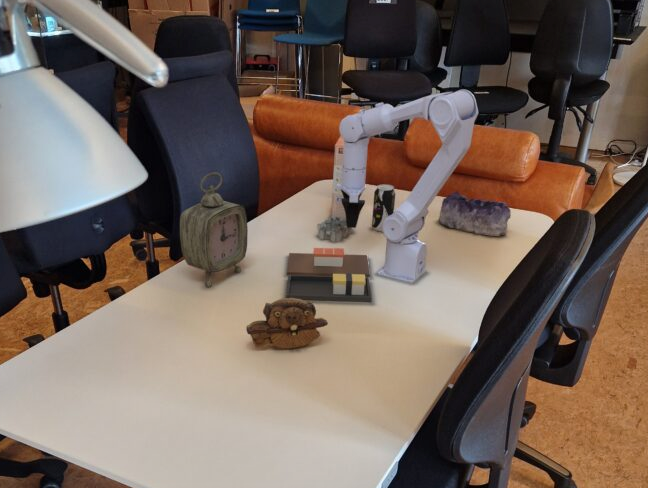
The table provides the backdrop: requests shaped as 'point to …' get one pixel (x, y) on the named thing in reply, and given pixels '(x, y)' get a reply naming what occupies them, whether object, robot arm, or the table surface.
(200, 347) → the table surface
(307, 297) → the sushi tray
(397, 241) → the robot arm
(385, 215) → the beverage can
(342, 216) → the cracker box
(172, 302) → the table surface
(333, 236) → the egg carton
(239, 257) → the tabletop clock
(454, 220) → the geode
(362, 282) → the tamago nigiri
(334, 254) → the salmon nigiri
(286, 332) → the wooden carving
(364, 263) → the serving board
